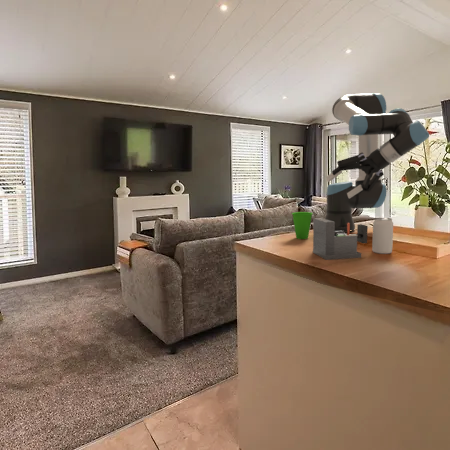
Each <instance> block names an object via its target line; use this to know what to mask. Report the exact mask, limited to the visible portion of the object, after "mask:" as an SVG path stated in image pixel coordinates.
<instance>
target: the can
mask: <svg viewBox="0 0 450 450" xmlns="http://www.w3.org/2000/svg"><path fill="white" fill-rule="evenodd" d="M372 223H373V224H372V242H371V243H372V245H371V247H372V249H371V251H372V252H373V253H374V254H378V255H380V254H381V255H389V254H392V252H393V241H394V239H393V238H394V221H393V218H391V217H375V218H374V220H373V222H372Z"/></svg>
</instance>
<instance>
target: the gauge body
mask: <svg viewBox="0 0 450 450" xmlns="http://www.w3.org/2000/svg"><path fill="white" fill-rule="evenodd" d="M312 222H313V223H312V224H313V225H312V226H313V229H312V231H313V232H312V235H313V236H312V239H313V241H312V243H313V244H312V245H313V246H312V253H313V254H314V255H317V256H318V257H320V258H322V259H324V260H328V261H329V260H345V259H359V258H360V259H361V258H362V252H359V251H358V241H357V233H349V234H347V233H345V232H344V231H335V222H334V221H330V220H327V219H325V218H324V217H316V218H314V217H313V221H312ZM341 233H345V234H346V235H336V234H341Z"/></svg>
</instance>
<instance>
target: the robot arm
mask: <svg viewBox="0 0 450 450" xmlns="http://www.w3.org/2000/svg"><path fill="white" fill-rule="evenodd" d="M331 110H332V111H331V112H332V113H331V114H332V116H333V117H334V118H335V119H336V120H337V121H340V122H344V123H345V124H346V125H348V131H349V133H350V135H352V136H358V154H357V155H354V156H350V157H348V158H343V159H341V160H338V161H337V162H336V163H337V167H335V169H333V170H332V171H331V173H329V174H328V175H327V176H325V177H326V180H327V182H328V183H330V182H331V181H333V180H334V179H336V177H338V176H339V175H341V174H343V171H349V170H350V171H351V170H358V177H357V179H356V180H355V184H354V183H353V181H350V180H349V181H341V182H335V183H331V184H328V185H327V187H326V214H325V218H324V219H327V220H330V221H334V222H335V231H344V233H346V232H345V231H347V223H350V230H354V229H355V230H356V226H355V221H354V217H353V215H352V210H353V209H375V208H380V207H382V206H383V204H384V203H385V201H386V197H387V188H386V187H387V185H386V184H385V183H383V182H382V179H381V178H382V177H383V176H384V172H383V169H386V167H388V166H390V164H391V163H394V162H395V161H397V160H399V158H401V157H403V156H404V155H406V154H408V153H409V152H411V151H412V150H413V149H415V148H416V147H418V146H420V145H422V143H424V142H425V141H426V140H428V139H429V138H430V133H429V131H428V130H427V128H426V127H425V126H424V124H423V123H422V122H420V121H419V120H415V121H414V122H413V120H412V119H411V115H410V114H409V113H408V112H407V111H406V110H405V109H404V108H400V107H397V108H394V109H392V110H390V111H388V113H387V112H386V111H387V102H386V98H385V97H384V95H383V94H382V93H376V92H375V93H373V92H371V93H355V94H353V93H352V94H351V93H349V94H345V95H342V96H340V97H339V98H338V99H336V100H335V101H334V103H333V105H332V109H331ZM379 135H393V137H391V138H390V139H389V140H387V141H386V142H384V143H383V144H381V145H380V146H379Z"/></svg>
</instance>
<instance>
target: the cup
mask: <svg viewBox="0 0 450 450" xmlns="http://www.w3.org/2000/svg"><path fill="white" fill-rule="evenodd" d="M291 215H292V221H293V225H294V233H295V237H296V239H298V240H307V239H309V236H310V231H311V230H310V229H311V222H312V217H313V212H309V211H297V212H292V213H291Z"/></svg>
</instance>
